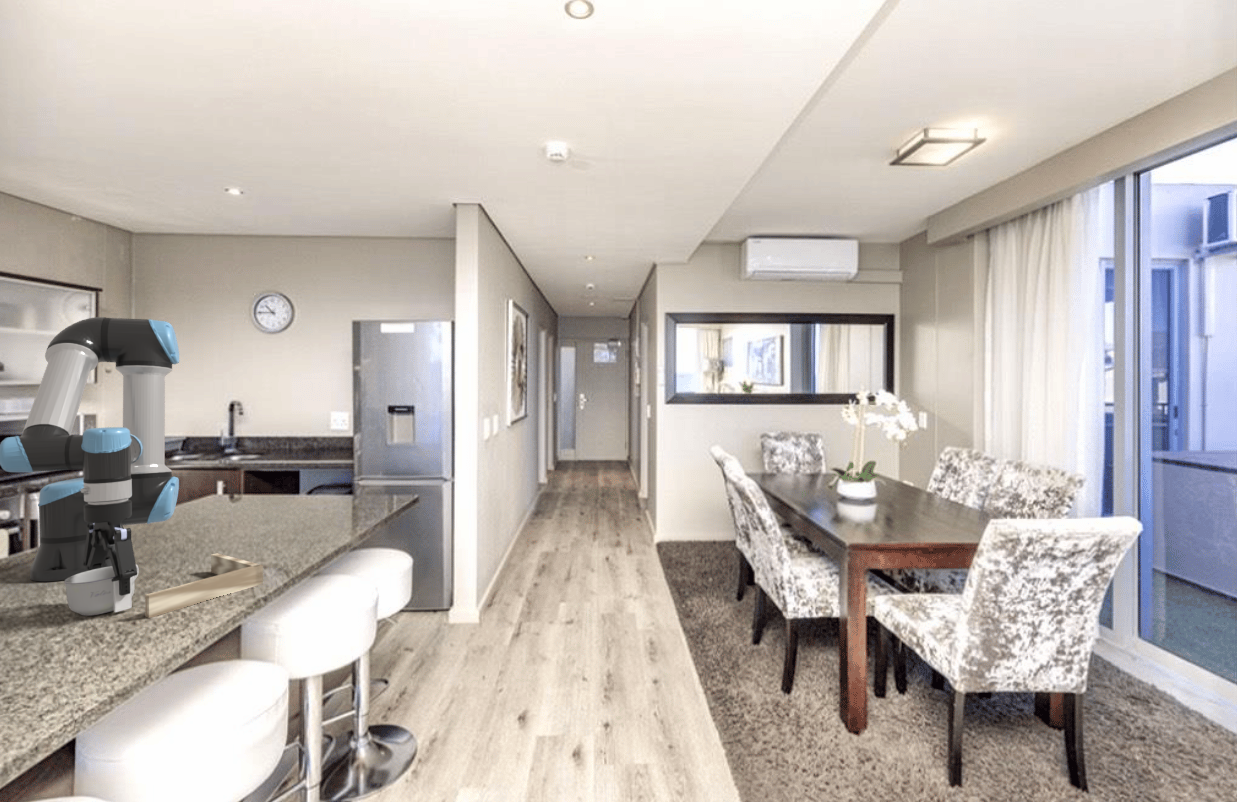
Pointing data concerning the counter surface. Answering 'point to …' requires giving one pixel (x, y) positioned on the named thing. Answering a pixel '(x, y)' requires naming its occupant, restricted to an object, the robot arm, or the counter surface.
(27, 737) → the counter surface
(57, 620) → the counter surface
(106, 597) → the teacup
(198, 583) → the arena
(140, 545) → the counter surface
